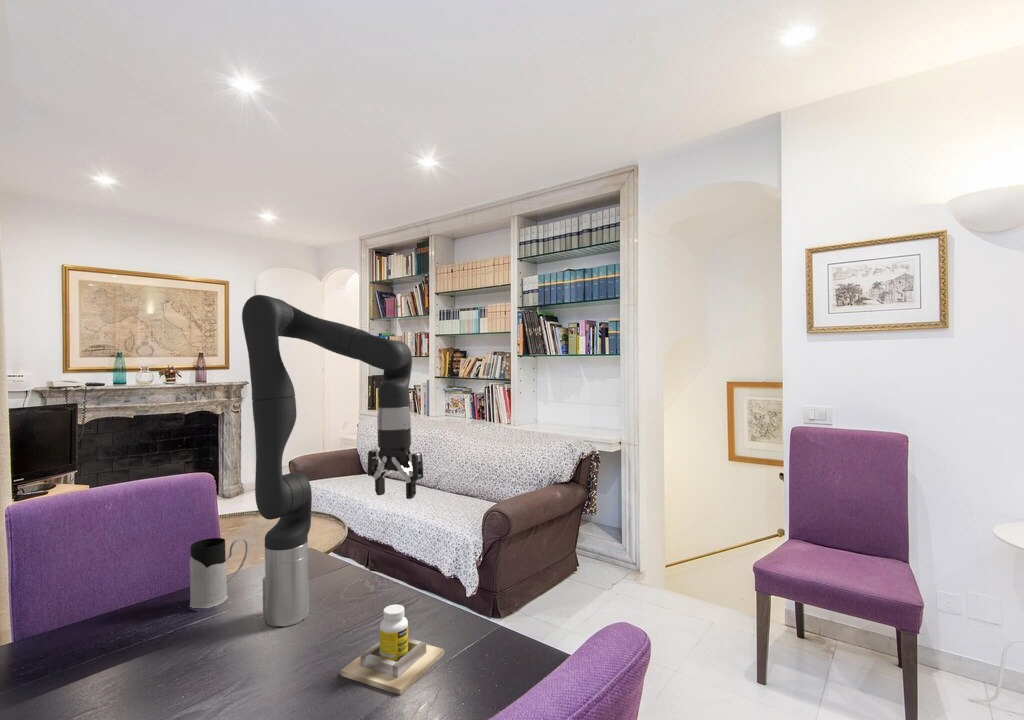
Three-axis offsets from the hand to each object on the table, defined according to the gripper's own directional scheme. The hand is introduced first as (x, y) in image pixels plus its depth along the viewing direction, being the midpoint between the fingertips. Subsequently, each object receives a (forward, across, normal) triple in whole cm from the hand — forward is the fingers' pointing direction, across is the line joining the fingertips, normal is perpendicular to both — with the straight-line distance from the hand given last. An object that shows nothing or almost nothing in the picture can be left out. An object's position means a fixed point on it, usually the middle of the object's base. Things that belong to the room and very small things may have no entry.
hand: (395, 496), depth 119 cm
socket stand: (+28, +11, -15) cm, 34 cm away
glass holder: (+28, -48, -10) cm, 57 cm away
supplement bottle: (+27, +11, -15) cm, 33 cm away
